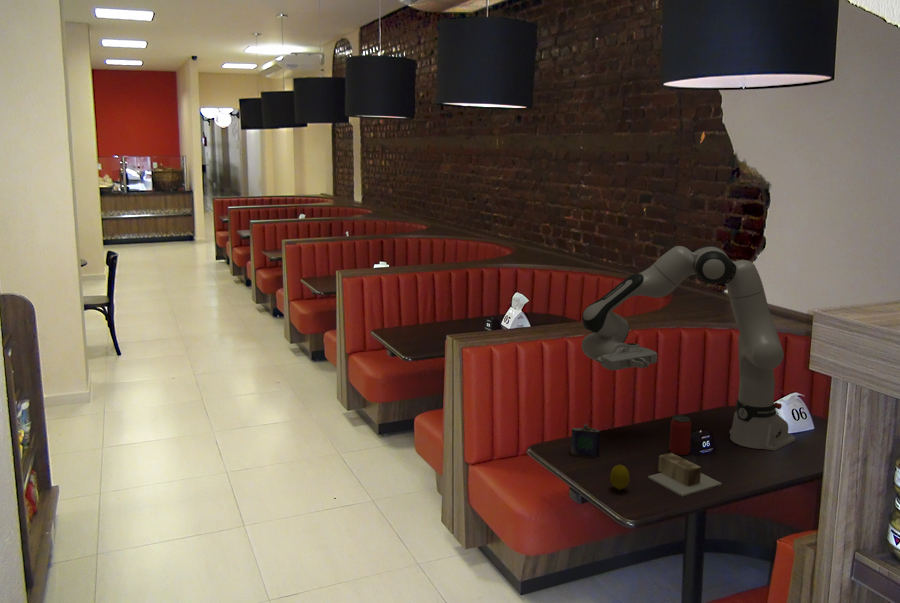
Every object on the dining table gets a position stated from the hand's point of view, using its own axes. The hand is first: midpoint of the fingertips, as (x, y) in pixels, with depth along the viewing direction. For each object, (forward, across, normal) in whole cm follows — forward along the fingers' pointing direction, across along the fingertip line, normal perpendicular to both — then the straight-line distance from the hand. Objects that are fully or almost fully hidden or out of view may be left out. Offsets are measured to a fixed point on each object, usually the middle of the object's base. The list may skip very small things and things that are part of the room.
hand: (645, 365), depth 231 cm
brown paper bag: (+15, -4, +27) cm, 31 cm away
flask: (-7, -18, +30) cm, 36 cm away
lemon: (+18, -25, +30) cm, 43 cm away
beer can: (+6, +11, +30) cm, 33 cm away
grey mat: (+23, -4, +30) cm, 38 cm away
